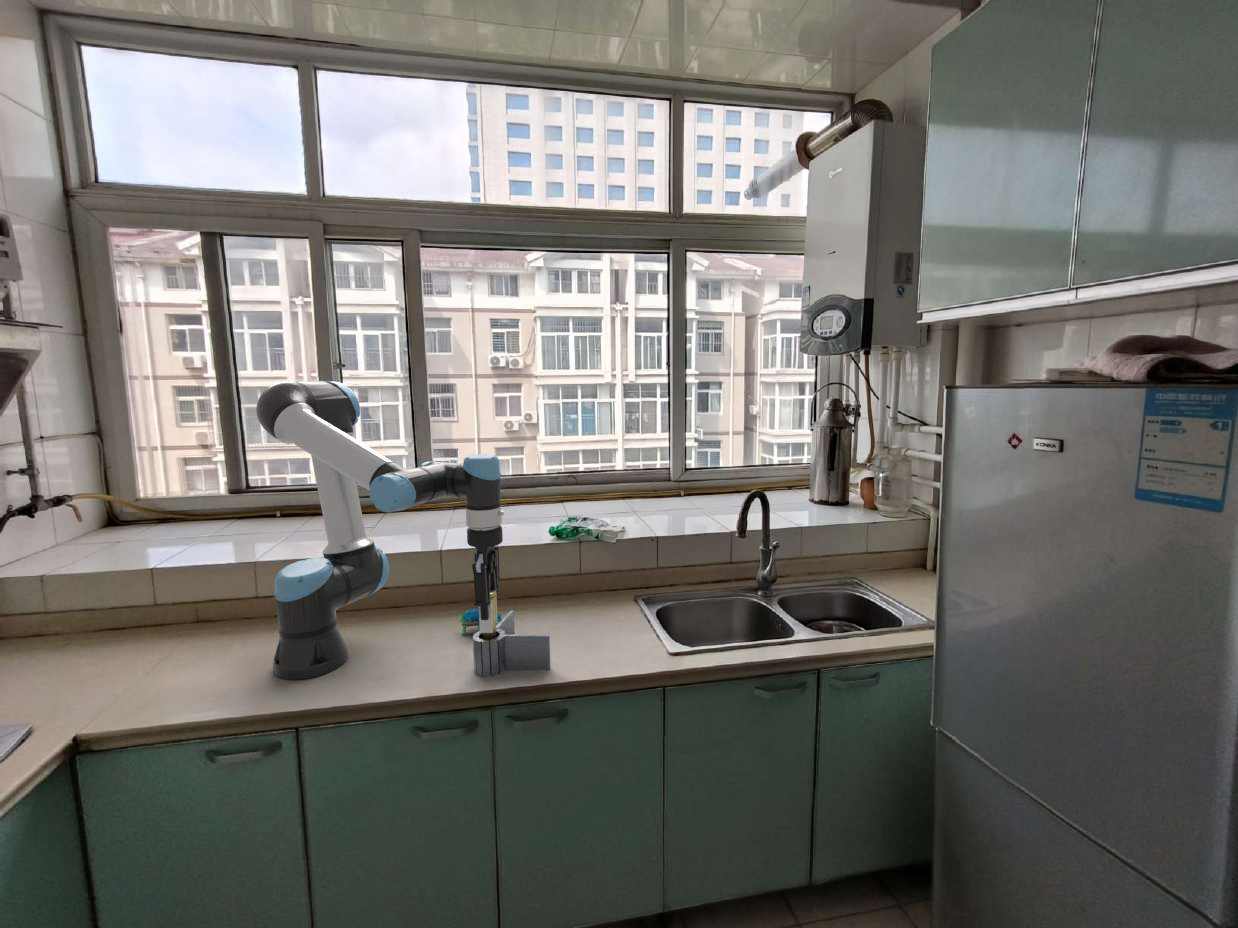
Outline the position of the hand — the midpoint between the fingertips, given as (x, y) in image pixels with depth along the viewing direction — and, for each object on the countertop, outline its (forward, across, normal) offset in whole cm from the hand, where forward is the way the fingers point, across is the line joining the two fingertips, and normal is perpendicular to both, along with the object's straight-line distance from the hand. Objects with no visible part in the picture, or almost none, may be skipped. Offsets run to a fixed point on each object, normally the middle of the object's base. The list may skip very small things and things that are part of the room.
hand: (488, 627), depth 128 cm
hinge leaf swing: (+10, +9, -2) cm, 13 cm away
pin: (+6, 0, 0) cm, 6 cm away
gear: (+10, +19, +7) cm, 23 cm away
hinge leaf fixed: (+10, 0, -5) cm, 11 cm away
